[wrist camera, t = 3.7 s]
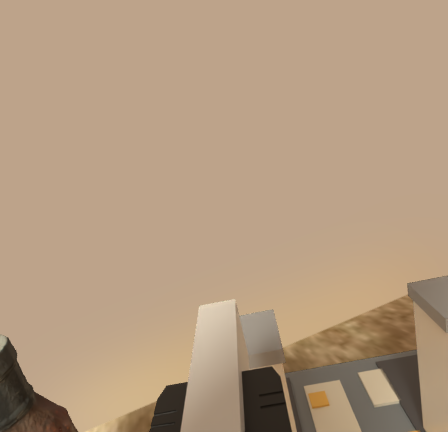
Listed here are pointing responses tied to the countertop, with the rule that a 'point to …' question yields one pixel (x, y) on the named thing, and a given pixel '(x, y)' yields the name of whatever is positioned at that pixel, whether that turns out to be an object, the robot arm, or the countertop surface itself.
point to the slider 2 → (432, 349)
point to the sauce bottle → (25, 400)
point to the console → (359, 396)
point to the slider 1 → (266, 348)
